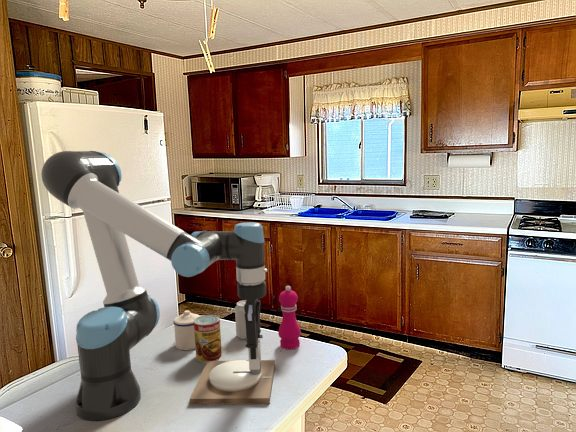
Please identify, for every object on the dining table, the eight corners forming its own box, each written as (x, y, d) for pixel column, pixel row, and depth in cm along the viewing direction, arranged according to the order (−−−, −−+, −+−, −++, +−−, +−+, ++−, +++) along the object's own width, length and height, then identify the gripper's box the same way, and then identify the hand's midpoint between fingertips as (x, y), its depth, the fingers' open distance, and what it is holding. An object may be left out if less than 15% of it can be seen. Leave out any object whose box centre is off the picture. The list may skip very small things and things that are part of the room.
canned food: (204, 365, 127) (201, 326, 125) (191, 356, 133) (188, 319, 131) (226, 356, 132) (224, 319, 130) (213, 348, 138) (211, 313, 136)
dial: (204, 391, 109) (202, 356, 108) (215, 365, 123) (213, 334, 122) (258, 391, 109) (257, 356, 107) (263, 364, 122) (262, 333, 121)
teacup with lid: (204, 348, 138) (202, 314, 137) (175, 352, 136) (172, 317, 134) (201, 334, 150) (199, 302, 148) (174, 338, 147) (172, 305, 146)
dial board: (190, 404, 107) (189, 398, 106) (207, 365, 126) (207, 360, 126) (269, 403, 106) (269, 397, 106) (275, 364, 126) (274, 359, 125)
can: (249, 342, 142) (247, 307, 140) (231, 337, 146) (230, 304, 144) (262, 334, 148) (261, 300, 146) (245, 330, 152) (243, 297, 150)
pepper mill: (299, 351, 134) (297, 289, 131) (276, 349, 135) (274, 288, 133) (302, 341, 141) (301, 282, 138) (281, 340, 142) (279, 282, 140)
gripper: (262, 290, 104) (266, 380, 107) (268, 272, 120) (271, 351, 123) (232, 291, 104) (236, 381, 107) (241, 273, 120) (245, 352, 123)
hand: (255, 365), depth 115 cm, fingers closed on dial, 3 cm apart
